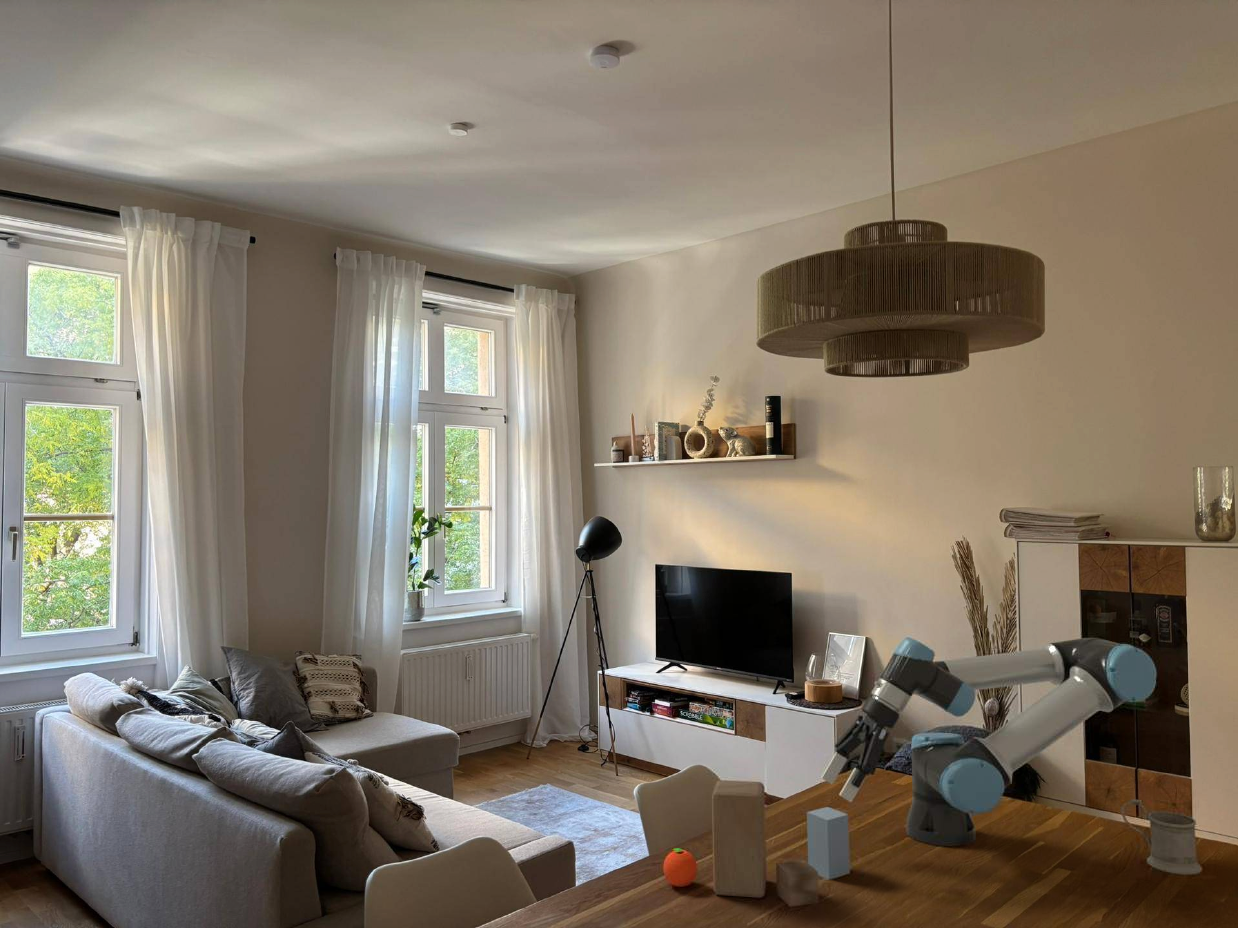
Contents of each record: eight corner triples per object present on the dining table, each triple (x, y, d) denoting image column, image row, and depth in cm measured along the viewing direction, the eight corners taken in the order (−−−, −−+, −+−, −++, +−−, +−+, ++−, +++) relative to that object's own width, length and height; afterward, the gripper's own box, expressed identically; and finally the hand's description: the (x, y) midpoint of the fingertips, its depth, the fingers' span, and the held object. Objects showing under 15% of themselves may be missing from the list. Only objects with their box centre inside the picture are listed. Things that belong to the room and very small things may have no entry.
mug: (1206, 863, 190) (1203, 805, 191) (1196, 878, 183) (1193, 817, 184) (1129, 847, 200) (1127, 792, 201) (1117, 860, 193) (1114, 803, 193)
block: (764, 899, 176) (762, 795, 177) (713, 896, 178) (711, 793, 179) (766, 879, 186) (764, 780, 187) (718, 876, 188) (716, 778, 189)
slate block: (828, 863, 193) (827, 806, 194) (849, 872, 188) (848, 814, 189) (808, 870, 190) (806, 812, 191) (829, 879, 185) (827, 819, 186)
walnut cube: (804, 890, 180) (803, 859, 181) (818, 902, 174) (817, 871, 175) (776, 894, 179) (776, 863, 179) (789, 906, 173) (789, 874, 173)
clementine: (655, 879, 186) (655, 844, 187) (686, 874, 189) (685, 839, 189) (672, 894, 179) (671, 858, 179) (703, 888, 182) (702, 852, 182)
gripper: (852, 685, 209) (805, 765, 207) (890, 705, 184) (837, 796, 182) (880, 703, 209) (833, 783, 207) (921, 725, 184) (869, 816, 182)
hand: (835, 789), depth 195 cm, fingers open, 13 cm apart
